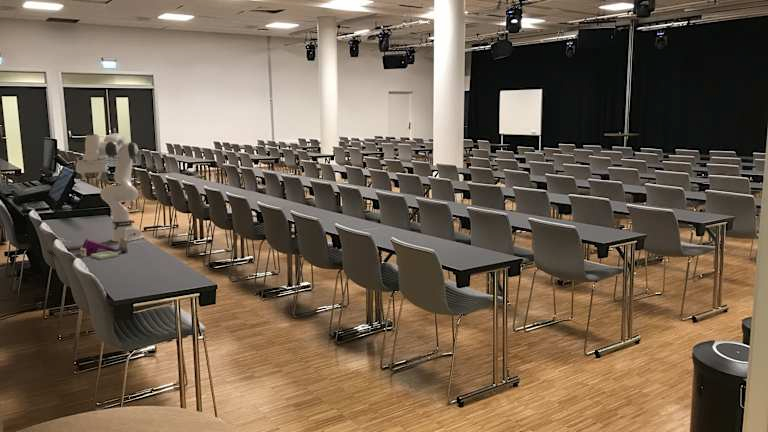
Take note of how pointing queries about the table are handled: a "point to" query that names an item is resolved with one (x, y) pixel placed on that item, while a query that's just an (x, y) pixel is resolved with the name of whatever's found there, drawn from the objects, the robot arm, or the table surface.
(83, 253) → the label tile
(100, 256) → the parts tray
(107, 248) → the mounting bracket
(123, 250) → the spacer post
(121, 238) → the gold metallic cylinder
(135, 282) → the table surface
